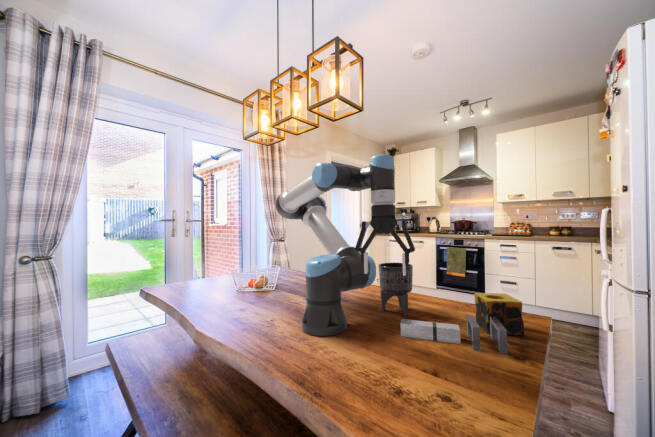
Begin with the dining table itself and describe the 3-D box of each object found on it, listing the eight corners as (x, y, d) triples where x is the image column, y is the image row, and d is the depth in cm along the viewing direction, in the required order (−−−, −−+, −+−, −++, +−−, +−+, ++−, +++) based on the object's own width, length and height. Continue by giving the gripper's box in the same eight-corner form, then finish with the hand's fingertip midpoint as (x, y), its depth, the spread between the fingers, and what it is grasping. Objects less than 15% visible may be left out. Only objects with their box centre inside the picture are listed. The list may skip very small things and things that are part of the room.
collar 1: (473, 350, 68) (472, 326, 68) (467, 334, 78) (466, 314, 78) (480, 350, 68) (479, 327, 68) (473, 335, 77) (472, 315, 77)
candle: (525, 336, 76) (523, 302, 76) (487, 334, 78) (486, 301, 78) (508, 323, 86) (507, 293, 86) (475, 322, 88) (474, 292, 88)
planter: (387, 303, 110) (386, 261, 111) (418, 308, 103) (417, 263, 103) (374, 312, 100) (373, 265, 100) (407, 318, 92) (406, 268, 93)
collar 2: (500, 353, 66) (499, 329, 66) (490, 337, 75) (489, 316, 76) (507, 354, 65) (506, 330, 66) (497, 338, 75) (496, 317, 75)
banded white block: (400, 337, 77) (400, 323, 78) (402, 331, 81) (401, 318, 81) (460, 344, 72) (460, 329, 72) (458, 338, 76) (458, 324, 76)
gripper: (344, 205, 83) (345, 274, 82) (422, 201, 75) (424, 278, 74) (350, 206, 90) (351, 270, 89) (422, 203, 82) (424, 273, 81)
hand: (384, 274), depth 82 cm, fingers open, 11 cm apart
